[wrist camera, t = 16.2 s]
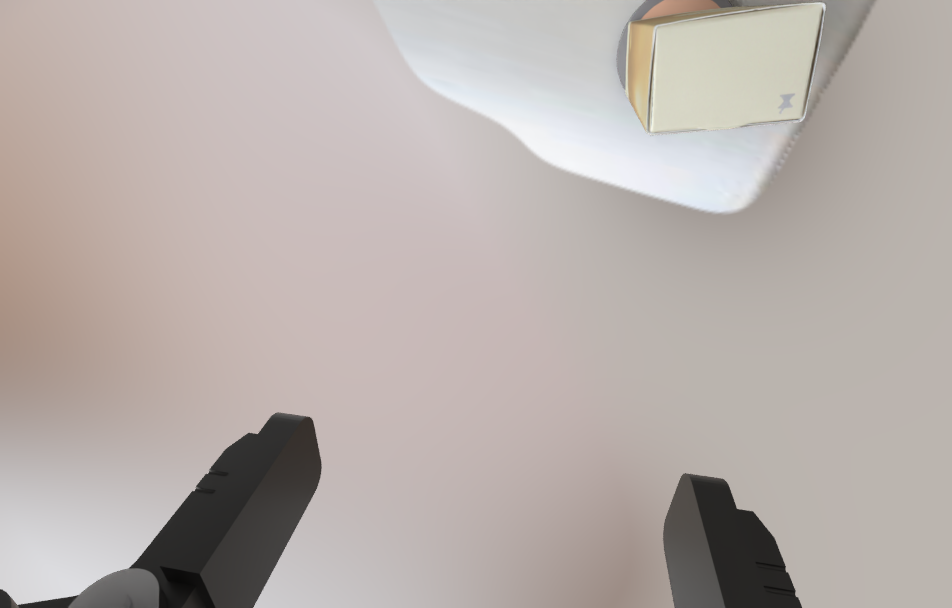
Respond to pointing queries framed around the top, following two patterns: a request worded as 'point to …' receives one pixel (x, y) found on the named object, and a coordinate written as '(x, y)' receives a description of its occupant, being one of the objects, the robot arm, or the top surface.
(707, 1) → the tile
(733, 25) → the skincare box
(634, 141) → the top surface
